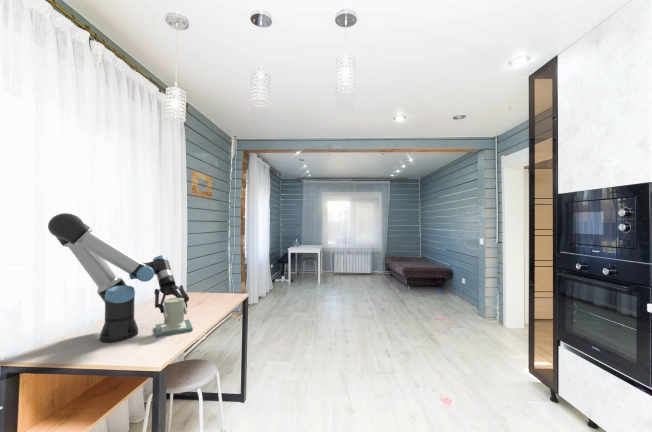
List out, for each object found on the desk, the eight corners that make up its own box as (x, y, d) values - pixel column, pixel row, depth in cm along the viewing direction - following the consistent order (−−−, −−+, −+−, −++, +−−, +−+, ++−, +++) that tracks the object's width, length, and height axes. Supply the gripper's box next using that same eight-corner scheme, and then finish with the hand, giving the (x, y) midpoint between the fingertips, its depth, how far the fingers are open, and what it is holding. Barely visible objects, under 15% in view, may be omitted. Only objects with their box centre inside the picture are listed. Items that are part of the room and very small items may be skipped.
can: (178, 325, 143) (178, 301, 144) (160, 325, 144) (160, 301, 144) (187, 319, 153) (187, 296, 153) (170, 319, 153) (170, 296, 153)
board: (155, 337, 137) (155, 334, 137) (155, 327, 151) (155, 324, 151) (192, 331, 145) (192, 327, 145) (189, 322, 159) (189, 319, 159)
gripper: (184, 281, 167) (195, 314, 156) (142, 287, 152) (150, 324, 140) (188, 273, 164) (200, 306, 152) (145, 278, 148) (154, 316, 137)
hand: (176, 315), depth 146 cm, fingers closed on can, 9 cm apart
